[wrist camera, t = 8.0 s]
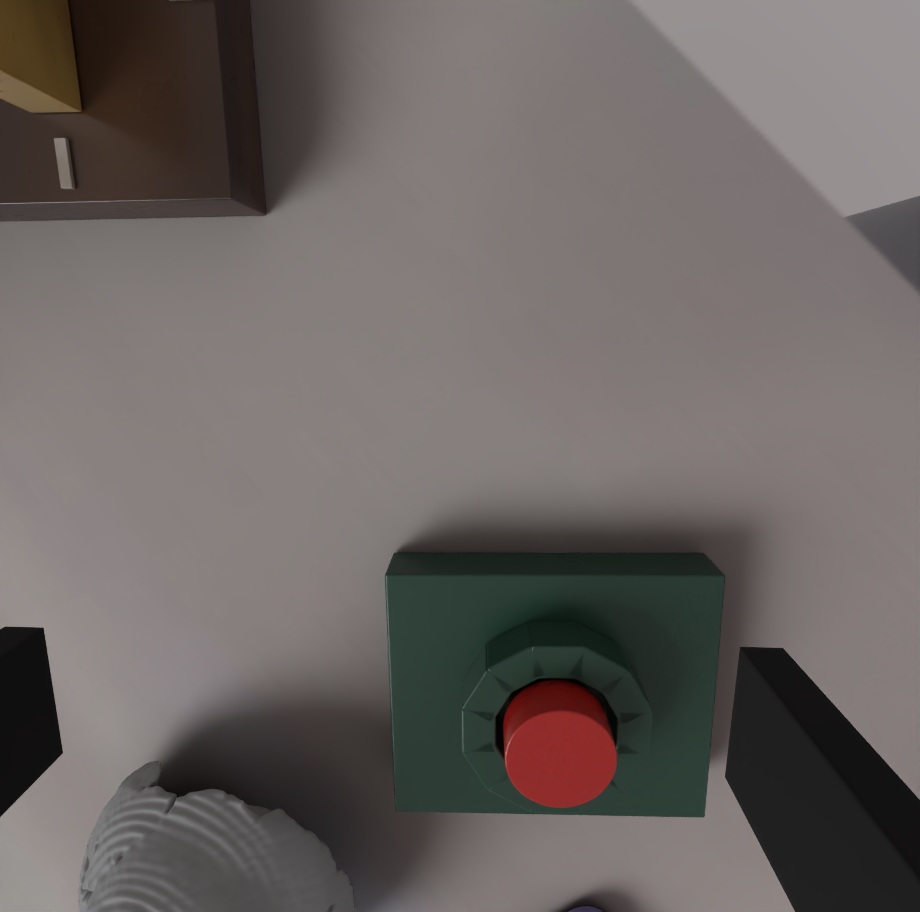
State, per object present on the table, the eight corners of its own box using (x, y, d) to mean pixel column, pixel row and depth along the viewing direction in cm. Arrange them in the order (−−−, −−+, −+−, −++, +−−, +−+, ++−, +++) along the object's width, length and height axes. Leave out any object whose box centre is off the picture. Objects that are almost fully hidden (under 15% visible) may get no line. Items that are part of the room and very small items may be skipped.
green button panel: (704, 552, 24) (747, 598, 20) (687, 776, 26) (722, 859, 22) (393, 551, 24) (375, 596, 20) (402, 771, 26) (387, 851, 22)
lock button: (609, 679, 21) (619, 711, 19) (605, 771, 22) (615, 809, 20) (503, 678, 21) (504, 710, 19) (503, 769, 22) (504, 807, 20)
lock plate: (240, -159, 19) (193, -251, 16) (269, 215, 21) (233, 198, 18) (-191, -138, 20) (-316, -223, 17) (-116, 224, 22) (-214, 208, 19)
